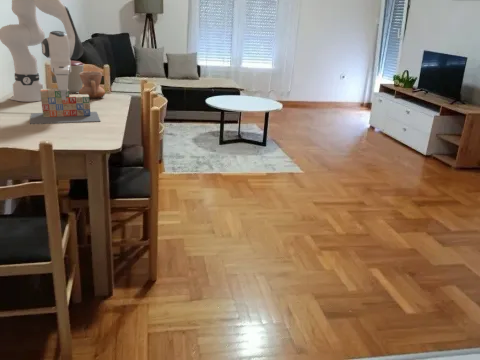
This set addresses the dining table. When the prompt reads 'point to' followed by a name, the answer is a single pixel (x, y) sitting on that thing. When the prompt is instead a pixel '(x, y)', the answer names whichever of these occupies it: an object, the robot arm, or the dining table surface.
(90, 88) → the ceramic jug
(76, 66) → the canister
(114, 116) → the dining table surface
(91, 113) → the charcoal mat
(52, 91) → the stack of blocks
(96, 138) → the dining table surface
